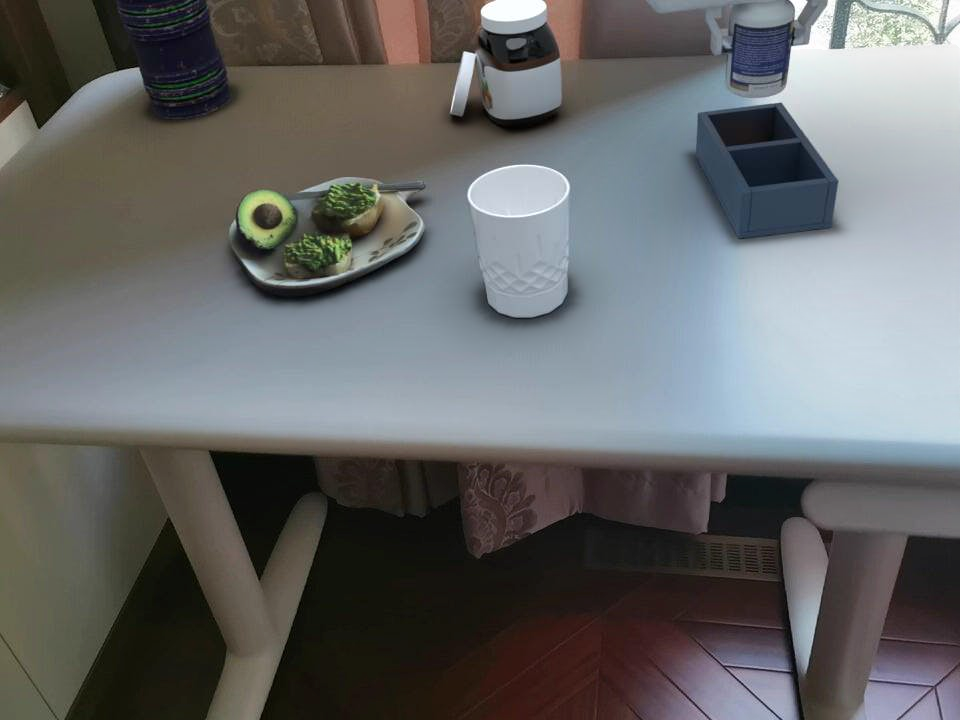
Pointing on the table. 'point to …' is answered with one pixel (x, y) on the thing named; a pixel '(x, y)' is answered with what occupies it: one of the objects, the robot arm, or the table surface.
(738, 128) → the divided storage box
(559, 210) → the white cup
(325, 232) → the avocado toast plate
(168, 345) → the table surface
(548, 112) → the spread jar
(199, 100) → the storage jar
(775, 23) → the pill bottle
